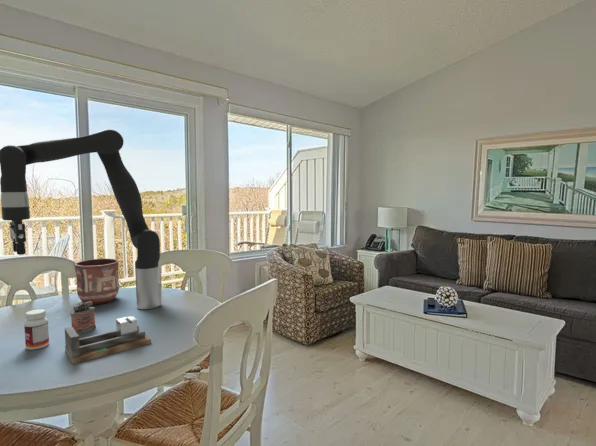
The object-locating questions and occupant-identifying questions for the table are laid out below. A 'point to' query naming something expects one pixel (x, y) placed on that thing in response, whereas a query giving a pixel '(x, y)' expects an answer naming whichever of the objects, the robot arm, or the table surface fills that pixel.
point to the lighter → (83, 317)
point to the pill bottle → (36, 329)
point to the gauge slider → (126, 326)
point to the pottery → (97, 280)
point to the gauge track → (101, 344)
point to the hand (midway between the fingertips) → (19, 252)
